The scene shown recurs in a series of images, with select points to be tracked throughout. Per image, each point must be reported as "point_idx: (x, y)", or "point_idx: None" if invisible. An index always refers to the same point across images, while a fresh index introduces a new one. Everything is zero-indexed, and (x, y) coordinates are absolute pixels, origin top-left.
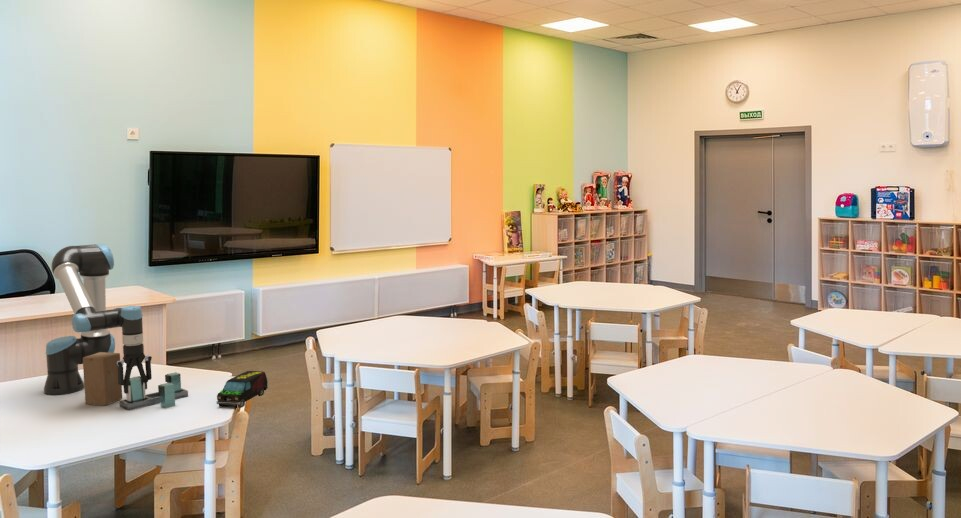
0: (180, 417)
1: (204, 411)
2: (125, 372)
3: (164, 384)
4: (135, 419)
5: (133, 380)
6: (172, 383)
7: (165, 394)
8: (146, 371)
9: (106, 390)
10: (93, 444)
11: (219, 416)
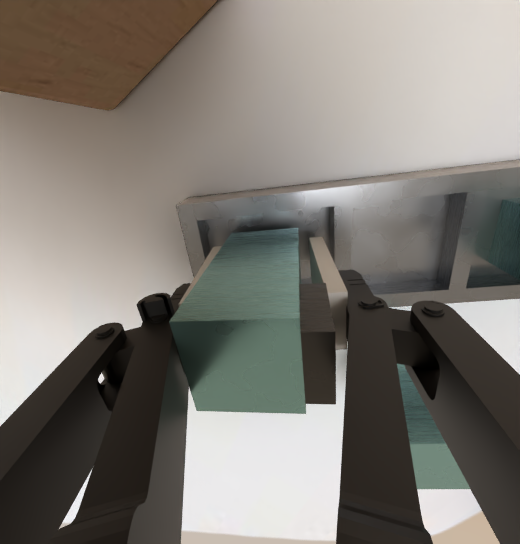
0: (339, 479)
1: None
2: (106, 442)
3: (432, 458)
4: (211, 416)
5: (228, 408)
6: None
7: None
8: (458, 399)
9: (38, 87)
10: (80, 501)
11: (425, 528)
